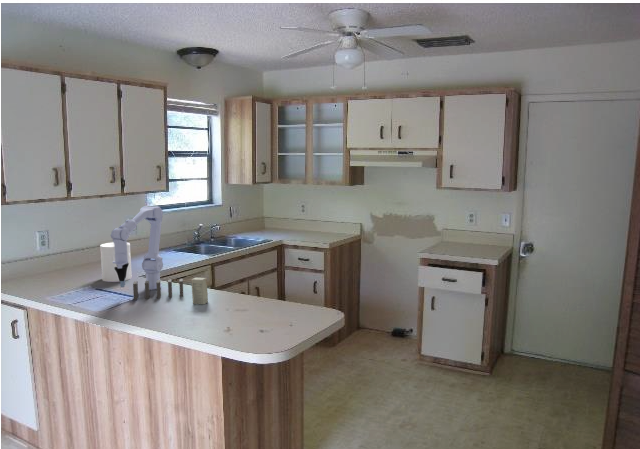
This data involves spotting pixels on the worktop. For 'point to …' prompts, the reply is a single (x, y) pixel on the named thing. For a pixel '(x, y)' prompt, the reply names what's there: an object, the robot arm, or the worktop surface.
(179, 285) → the domino
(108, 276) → the canister
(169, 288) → the domino
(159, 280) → the domino
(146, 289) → the domino
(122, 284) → the domino
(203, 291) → the skincare box
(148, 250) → the robot arm
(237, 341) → the worktop surface
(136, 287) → the domino
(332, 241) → the worktop surface
